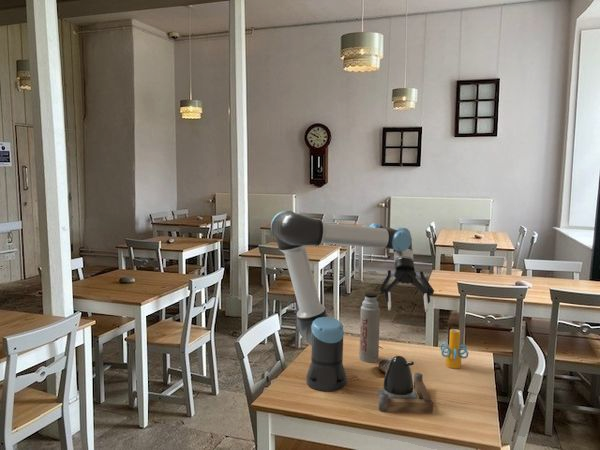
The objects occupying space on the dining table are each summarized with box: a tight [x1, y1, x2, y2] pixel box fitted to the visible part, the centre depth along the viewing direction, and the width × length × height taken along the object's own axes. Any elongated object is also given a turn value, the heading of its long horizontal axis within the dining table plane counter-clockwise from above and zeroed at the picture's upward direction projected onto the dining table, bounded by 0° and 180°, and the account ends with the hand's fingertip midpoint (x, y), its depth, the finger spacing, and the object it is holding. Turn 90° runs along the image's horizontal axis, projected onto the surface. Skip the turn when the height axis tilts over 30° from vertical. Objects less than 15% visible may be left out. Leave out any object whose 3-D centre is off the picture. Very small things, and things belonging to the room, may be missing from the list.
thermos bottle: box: [358, 292, 381, 363], centre depth 209 cm, size 8×8×28 cm
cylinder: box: [440, 328, 469, 370], centre depth 203 cm, size 12×10×15 cm
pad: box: [377, 389, 418, 399], centre depth 173 cm, size 13×13×1 cm
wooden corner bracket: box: [378, 372, 434, 414], centre depth 174 cm, size 18×21×5 cm
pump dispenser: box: [382, 355, 415, 399], centre depth 172 cm, size 10×10×15 cm
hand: (408, 309), depth 185 cm, fingers open, 13 cm apart
